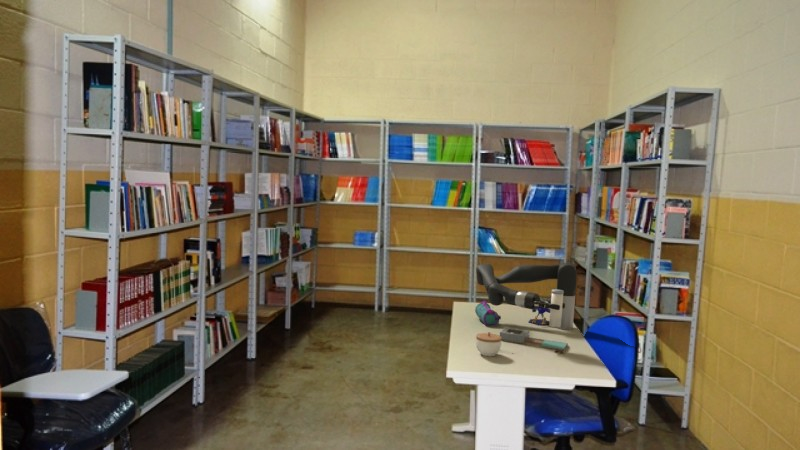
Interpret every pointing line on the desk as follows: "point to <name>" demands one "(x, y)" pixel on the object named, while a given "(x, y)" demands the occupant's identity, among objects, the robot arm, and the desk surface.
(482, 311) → the pencil case
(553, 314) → the capped cream cylinder
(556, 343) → the mat
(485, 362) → the desk surface
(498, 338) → the lidded jar
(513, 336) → the grey square socket
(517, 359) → the desk surface
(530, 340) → the base board
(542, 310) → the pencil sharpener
